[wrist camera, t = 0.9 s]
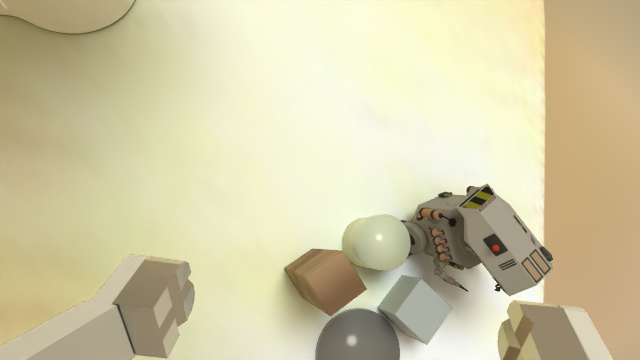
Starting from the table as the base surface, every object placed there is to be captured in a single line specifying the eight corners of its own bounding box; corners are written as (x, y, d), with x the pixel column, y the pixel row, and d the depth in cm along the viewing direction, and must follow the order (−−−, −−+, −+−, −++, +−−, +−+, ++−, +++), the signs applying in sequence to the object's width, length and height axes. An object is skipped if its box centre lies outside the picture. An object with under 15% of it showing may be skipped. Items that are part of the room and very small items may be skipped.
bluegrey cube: (377, 307, 47) (394, 314, 42) (401, 275, 48) (421, 278, 44) (406, 334, 47) (427, 344, 43) (429, 301, 49) (452, 308, 44)
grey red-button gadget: (422, 298, 49) (507, 322, 34) (387, 212, 49) (456, 200, 35) (479, 268, 51) (581, 278, 37) (445, 187, 52) (531, 166, 37)
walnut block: (284, 267, 45) (306, 276, 33) (312, 248, 46) (343, 250, 35) (302, 297, 45) (330, 316, 33) (330, 277, 46) (366, 289, 35)
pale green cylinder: (332, 234, 47) (348, 233, 41) (371, 208, 49) (391, 204, 43) (359, 277, 47) (378, 281, 41) (396, 249, 49) (420, 250, 43)
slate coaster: (299, 343, 44) (300, 345, 43) (368, 291, 47) (370, 292, 46) (346, 418, 44) (348, 421, 43) (412, 361, 47) (415, 363, 46)
